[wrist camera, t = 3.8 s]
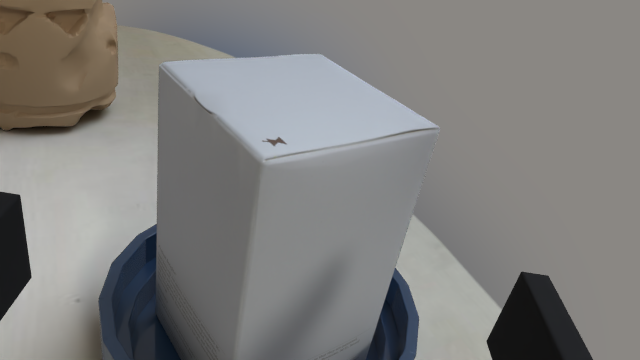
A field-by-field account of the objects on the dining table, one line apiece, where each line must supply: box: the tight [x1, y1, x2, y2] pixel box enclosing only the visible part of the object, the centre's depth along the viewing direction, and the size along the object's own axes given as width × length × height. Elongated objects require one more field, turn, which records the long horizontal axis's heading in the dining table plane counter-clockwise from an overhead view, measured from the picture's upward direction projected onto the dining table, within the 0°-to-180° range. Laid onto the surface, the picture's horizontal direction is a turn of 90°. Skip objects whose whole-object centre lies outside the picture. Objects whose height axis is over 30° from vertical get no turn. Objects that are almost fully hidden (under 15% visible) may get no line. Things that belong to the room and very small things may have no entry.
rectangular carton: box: [156, 54, 440, 360], centre depth 25 cm, size 9×9×15 cm
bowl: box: [98, 224, 419, 360], centre depth 28 cm, size 16×16×4 cm
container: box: [0, 0, 118, 131], centre depth 44 cm, size 13×13×18 cm
